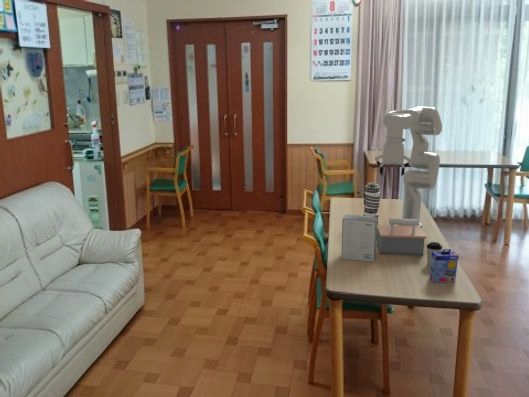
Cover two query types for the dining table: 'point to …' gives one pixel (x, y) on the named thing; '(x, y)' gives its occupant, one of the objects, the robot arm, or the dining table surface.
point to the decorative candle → (371, 200)
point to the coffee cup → (432, 250)
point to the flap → (401, 229)
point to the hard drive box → (359, 237)
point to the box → (400, 245)
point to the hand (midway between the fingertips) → (391, 175)
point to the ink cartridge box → (443, 266)
